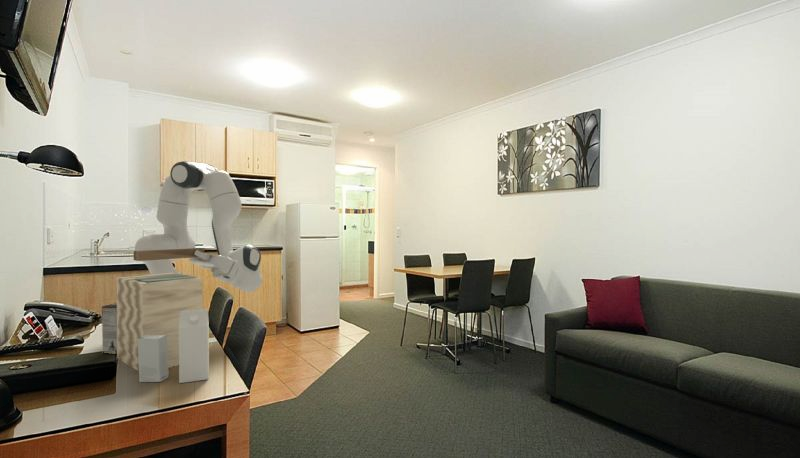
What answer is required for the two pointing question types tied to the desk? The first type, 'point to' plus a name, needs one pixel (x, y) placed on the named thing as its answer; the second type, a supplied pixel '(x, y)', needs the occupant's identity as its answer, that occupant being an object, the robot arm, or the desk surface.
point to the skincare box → (153, 358)
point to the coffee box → (109, 327)
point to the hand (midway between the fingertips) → (191, 251)
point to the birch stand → (153, 311)
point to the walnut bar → (165, 254)
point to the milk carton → (193, 345)
